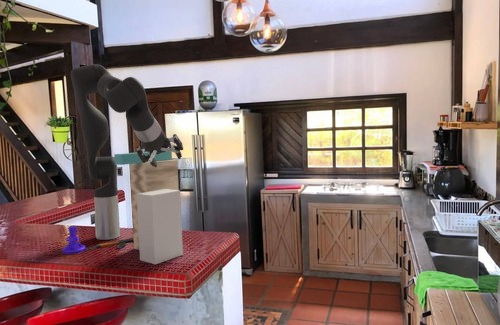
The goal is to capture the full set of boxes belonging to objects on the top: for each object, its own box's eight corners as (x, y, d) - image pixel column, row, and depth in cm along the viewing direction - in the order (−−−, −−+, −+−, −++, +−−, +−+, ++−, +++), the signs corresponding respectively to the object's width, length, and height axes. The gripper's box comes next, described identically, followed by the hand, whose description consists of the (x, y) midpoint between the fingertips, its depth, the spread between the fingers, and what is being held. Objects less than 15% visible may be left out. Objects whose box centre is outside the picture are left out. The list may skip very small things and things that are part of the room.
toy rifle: (78, 255, 138) (71, 249, 146) (79, 259, 138) (71, 252, 146) (167, 237, 158) (157, 232, 166) (167, 241, 158) (157, 236, 166)
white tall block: (140, 260, 134) (136, 193, 132) (167, 250, 143) (164, 188, 141) (155, 264, 129) (151, 195, 127) (183, 254, 138) (180, 190, 136)
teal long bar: (114, 164, 136) (114, 154, 136) (165, 159, 154) (164, 150, 153) (121, 164, 134) (121, 154, 134) (172, 159, 151) (171, 150, 151)
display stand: (134, 248, 147) (129, 162, 145) (163, 239, 158) (160, 159, 156) (151, 253, 141) (146, 163, 138) (180, 243, 152) (177, 160, 149)
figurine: (59, 257, 143) (55, 230, 141) (68, 248, 151) (64, 223, 149) (80, 256, 143) (77, 229, 141) (89, 247, 151) (85, 222, 149)
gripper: (169, 116, 126) (185, 146, 139) (126, 130, 126) (146, 159, 139) (172, 133, 121) (189, 163, 134) (128, 148, 121) (149, 176, 134)
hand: (167, 161), depth 136 cm, fingers open, 8 cm apart
